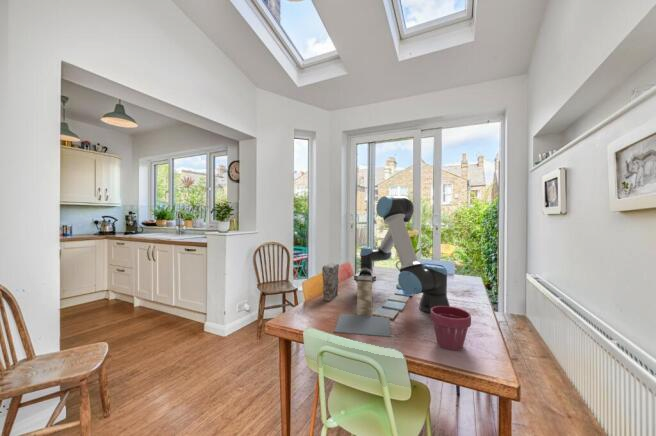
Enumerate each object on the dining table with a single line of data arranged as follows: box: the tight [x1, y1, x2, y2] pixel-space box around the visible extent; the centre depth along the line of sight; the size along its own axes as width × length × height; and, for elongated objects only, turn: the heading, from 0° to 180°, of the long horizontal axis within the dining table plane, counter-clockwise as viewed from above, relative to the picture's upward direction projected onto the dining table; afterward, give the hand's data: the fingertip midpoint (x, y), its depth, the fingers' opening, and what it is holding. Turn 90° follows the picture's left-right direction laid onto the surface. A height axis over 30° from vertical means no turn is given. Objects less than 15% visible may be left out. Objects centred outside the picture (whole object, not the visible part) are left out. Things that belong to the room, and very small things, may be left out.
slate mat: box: [333, 313, 393, 338], centre depth 121 cm, size 24×20×1 cm
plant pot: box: [429, 306, 472, 351], centre depth 103 cm, size 14×14×13 cm
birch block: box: [356, 275, 373, 316], centre depth 135 cm, size 7×7×18 cm
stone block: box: [321, 262, 340, 302], centre depth 159 cm, size 13×7×20 cm, turn 164°
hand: (363, 285), depth 138 cm, fingers closed
